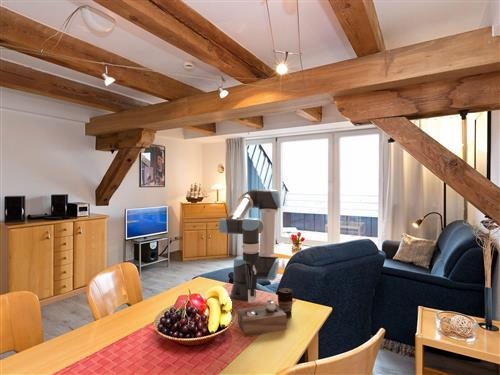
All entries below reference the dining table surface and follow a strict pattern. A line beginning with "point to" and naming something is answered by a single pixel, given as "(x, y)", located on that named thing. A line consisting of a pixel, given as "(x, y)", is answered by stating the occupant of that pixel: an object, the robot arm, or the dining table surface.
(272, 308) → the peg back
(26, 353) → the dining table surface
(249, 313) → the peg front
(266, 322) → the socket block
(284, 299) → the coffee cup
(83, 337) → the dining table surface
